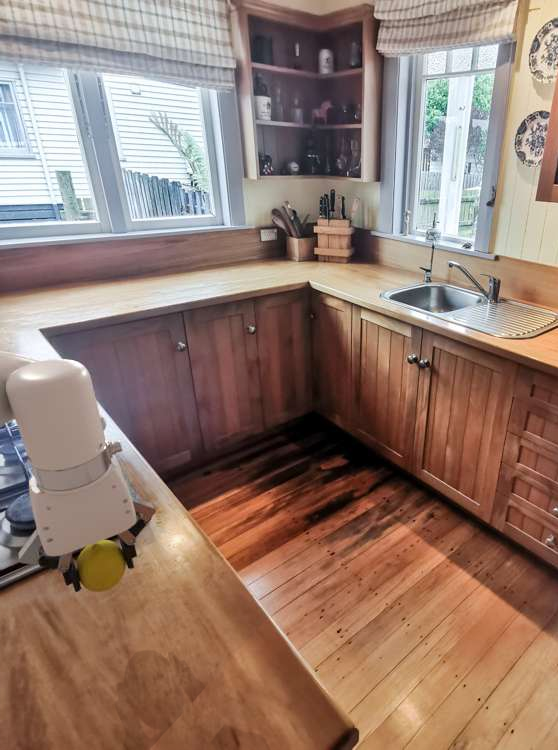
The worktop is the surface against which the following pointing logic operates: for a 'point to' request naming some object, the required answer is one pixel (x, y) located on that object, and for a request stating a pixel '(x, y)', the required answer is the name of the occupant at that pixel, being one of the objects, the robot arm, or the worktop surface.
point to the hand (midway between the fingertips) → (103, 571)
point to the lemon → (101, 566)
